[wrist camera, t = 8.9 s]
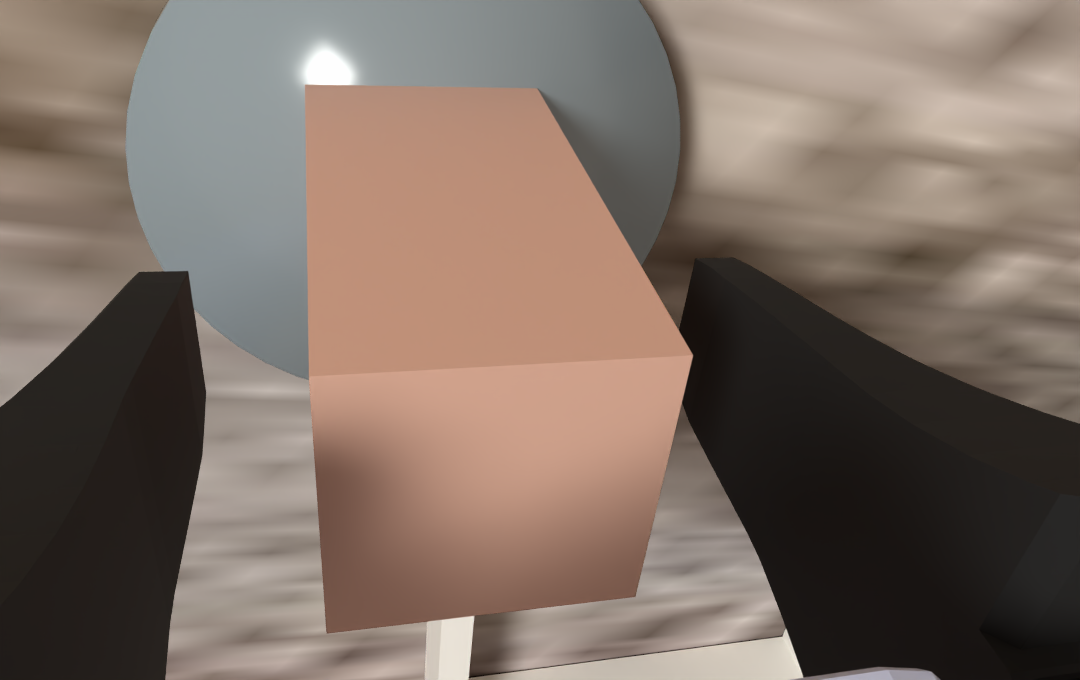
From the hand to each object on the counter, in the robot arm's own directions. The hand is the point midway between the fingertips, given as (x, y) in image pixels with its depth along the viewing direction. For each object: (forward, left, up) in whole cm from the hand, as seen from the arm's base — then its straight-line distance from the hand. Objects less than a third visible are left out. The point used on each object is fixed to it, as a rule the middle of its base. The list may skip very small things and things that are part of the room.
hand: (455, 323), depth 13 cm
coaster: (0, 0, -6) cm, 6 cm away
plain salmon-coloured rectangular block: (0, 0, -5) cm, 5 cm away
